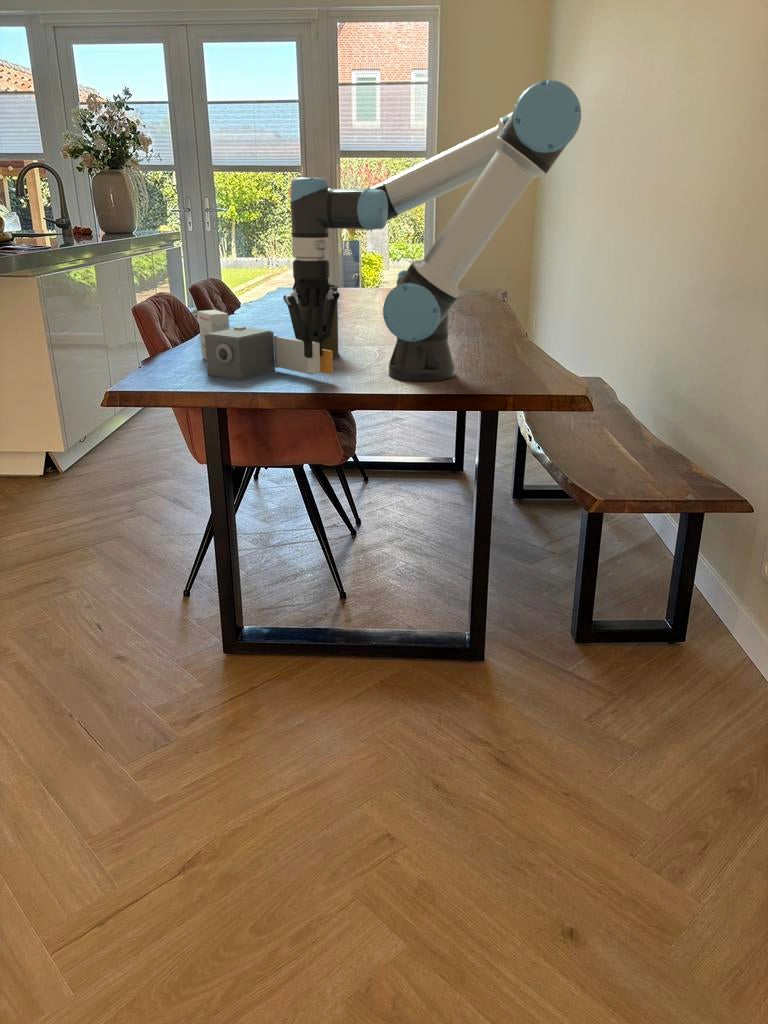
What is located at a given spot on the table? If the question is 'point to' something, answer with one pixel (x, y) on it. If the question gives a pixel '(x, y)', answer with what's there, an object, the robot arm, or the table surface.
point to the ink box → (211, 324)
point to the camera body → (240, 352)
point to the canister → (332, 341)
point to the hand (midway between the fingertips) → (313, 372)
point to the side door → (298, 356)
